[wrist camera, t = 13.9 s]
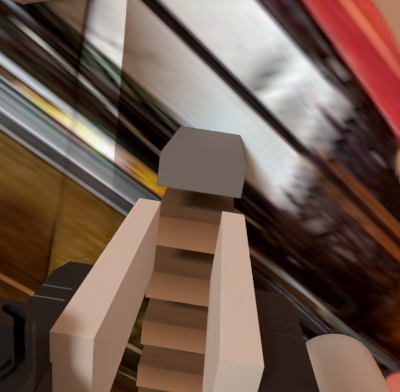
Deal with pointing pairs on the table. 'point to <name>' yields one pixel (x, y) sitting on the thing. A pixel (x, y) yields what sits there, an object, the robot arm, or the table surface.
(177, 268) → the walnut domino
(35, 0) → the candy bar box
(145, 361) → the walnut domino
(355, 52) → the table surface
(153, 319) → the walnut domino
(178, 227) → the walnut domino
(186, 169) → the charcoal domino
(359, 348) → the white oval pot
